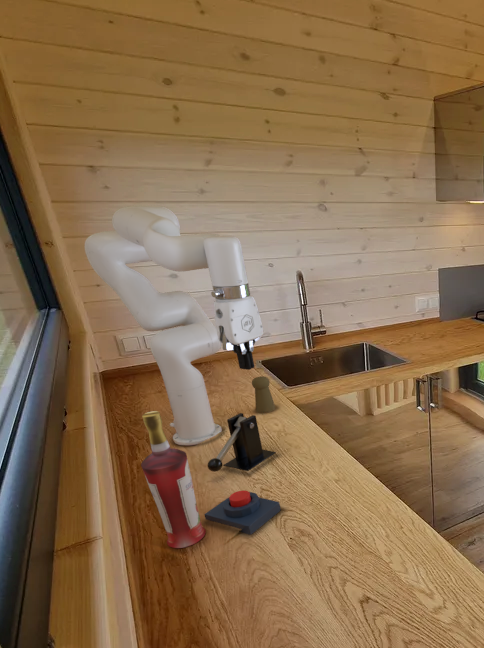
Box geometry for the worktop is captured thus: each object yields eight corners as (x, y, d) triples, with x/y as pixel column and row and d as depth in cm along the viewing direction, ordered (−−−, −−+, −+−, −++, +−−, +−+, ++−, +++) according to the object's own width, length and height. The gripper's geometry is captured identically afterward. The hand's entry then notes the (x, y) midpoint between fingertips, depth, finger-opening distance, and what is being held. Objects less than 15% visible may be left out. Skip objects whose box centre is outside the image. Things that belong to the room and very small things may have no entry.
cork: (269, 413, 155) (262, 381, 151) (252, 412, 156) (245, 380, 152) (279, 406, 161) (273, 374, 156) (262, 405, 162) (256, 373, 158)
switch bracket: (248, 474, 121) (238, 428, 116) (224, 469, 124) (213, 423, 119) (276, 455, 130) (268, 412, 125) (252, 451, 132) (243, 408, 127)
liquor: (169, 535, 99) (130, 410, 88) (209, 526, 102) (176, 403, 91) (165, 558, 93) (122, 426, 82) (207, 547, 96) (171, 418, 85)
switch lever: (220, 475, 116) (212, 468, 113) (210, 472, 117) (201, 466, 114) (254, 424, 124) (247, 416, 121) (244, 422, 125) (237, 415, 122)
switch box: (206, 522, 103) (202, 507, 102) (238, 499, 111) (235, 484, 109) (250, 535, 99) (247, 518, 97) (281, 510, 107) (278, 495, 105)
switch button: (226, 505, 102) (224, 498, 102) (240, 495, 106) (239, 488, 105) (241, 509, 101) (239, 502, 100) (255, 499, 105) (253, 492, 104)
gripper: (218, 299, 104) (235, 380, 111) (268, 287, 117) (280, 360, 124) (192, 297, 107) (210, 376, 114) (243, 286, 119) (257, 357, 127)
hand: (247, 368), depth 119 cm, fingers closed
